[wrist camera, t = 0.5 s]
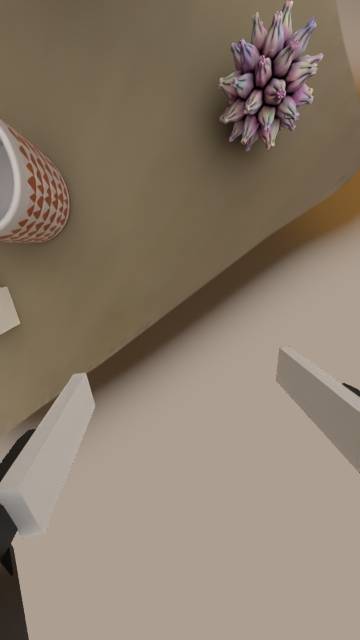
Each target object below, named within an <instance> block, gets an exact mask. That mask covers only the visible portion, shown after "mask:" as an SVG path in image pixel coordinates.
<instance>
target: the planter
mask: <svg viewBox="0 0 360 640" xmlns="http://www.w3.org/2000/svg"><path fill="white" fill-rule="evenodd" d="M69 211H70V199H69V193H68V190H67V186H66V184H65V181H64V179H63V177H62V175H61V174H60V172H59V170H58V169H57V168H56V166H55V165H54V164H53V163H52V161H51V160H50V159H49V158H48V157H47V156H45V155H44V154H43V153H42V152H41V151H40V150H39V149H37V148H36V147H35V146H34V145H33V144H31V143H30V142H29V141H28V140H27V139H25V138H24V137H23V136H22V135H21V134H19V133H18V132H17V131H16V130H15V129H14V128H12V127H11V126H10V125H9V124H8V123H6V122H5V121H4V120H3V119H2V118H0V242H13V243H41V242H45V241H48V240H50V239H52V238H54V237H55V236H57V235H58V234H59V233H60V232H61V231H62V229H63V228H64V226H65V225H66V222H67V220H68V217H69Z"/></svg>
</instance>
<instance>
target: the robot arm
mask: <svg viewBox="0 0 360 640" xmlns="http://www.w3.org/2000/svg"><path fill="white" fill-rule="evenodd" d="M276 381H277V382H278V383H279V384H280V385H281V387H282V388H283V389H284V390H285V391H286V392H287V393H288V394H289V395H290V397H291V398H292V399H293V400H294V401H295V402H296V403H297V404H298V405H299V407H300V408H301V409H302V410H303V411H304V412H305V413H306V414H307V415H308V417H309V418H310V419H311V420H312V421H313V422H314V423H315V424H316V425H317V427H318V428H319V429H320V430H321V431H322V432H323V433H324V434H325V435H326V436H327V438H328V439H329V440H330V441H331V442H332V443H333V444H334V445H335V446H336V448H337V449H338V450H339V451H340V452H341V453H342V454H343V455H344V456H345V458H346V459H347V460H348V461H349V462H350V463H351V464H352V465H353V466H354V468H355V469H356V470H357V471H358V472H359V473H360V391H359V390H358V389H356V388H354V387H352V386H350V385H347V384H345V383H343V384H341V383H339V382H338V381H337V380H335V379H334V378H332V377H331V376H330V375H328V374H327V373H326V372H324V371H323V370H322V369H320V368H319V367H317V366H316V365H315V364H313V363H312V362H311V361H309V360H308V359H306V358H305V357H304V356H302V355H301V354H300V353H298V352H297V351H296V350H294V349H293V348H291V347H290V346H288V347H281V348H279V355H278V365H277V375H276ZM94 408H95V403H94V400H93V397H92V393H91V389H90V386H89V383H88V379H87V376H86V373H79V374H73V376H72V377H71V379H70V380H69V382H68V383H67V385H66V386H65V388H64V389H63V390H62V392H61V393H60V395H59V396H58V398H57V399H56V401H55V402H54V404H53V406H52V407H51V408H50V410H49V411H48V413H47V414H46V416H45V417H44V419H43V420H42V422H41V423H40V424H39V426H38V427H37V429H32V430H28V431H27V432H26V433H25V434H24V435H23V436H21V437H20V438H19V439H18V440H17V441H16V443H15V444H14V445H13V447H12V448H11V449H10V451H9V453H8V454H7V455H6V456H5V458H4V459H3V460H2V463H0V640H29V638H28V633H27V626H26V621H25V614H24V608H23V602H22V597H21V591H20V584H19V578H18V572H17V566H16V561H15V554H14V549H13V546H12V545H11V542H12V540H13V538H14V536H15V534H16V532H17V530H18V532H19V533H20V535H21V536H22V538H23V539H25V538H30V537H36V536H41V535H44V534H45V531H46V529H47V526H48V524H49V521H50V519H51V516H52V514H53V511H54V509H55V506H56V504H57V501H58V499H59V496H60V494H61V491H62V489H63V486H64V484H65V481H66V479H67V476H68V473H69V471H70V469H71V466H72V464H73V461H74V459H75V456H76V454H77V451H78V449H79V446H80V444H81V441H82V438H83V436H84V434H85V431H86V428H87V426H88V423H89V421H90V418H91V416H92V413H93V411H94Z"/></svg>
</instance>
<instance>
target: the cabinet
mask: <svg viewBox="0 0 360 640" xmlns="http://www.w3.org/2000/svg"><path fill="white" fill-rule="evenodd" d="M19 324H20V321H19V318H18V315H17V313H16V310H15V307H14V304H13V301H12V299H11V296H10V293H9V290H8V287H7V286H6V287H0V334H2V333H4V332H6V331H8V330H10V329H11V328H13V327H15V326H17V325H19Z"/></svg>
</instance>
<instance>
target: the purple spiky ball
mask: <svg viewBox="0 0 360 640" xmlns="http://www.w3.org/2000/svg"><path fill="white" fill-rule="evenodd" d="M292 4H293V1H290V2H289V1H285V4H284V7H283V10H282V12H281V11H280V12H278V11H277V13H276V14H274V17H273V22H272V25H271V27H270V29H269V30H268V31H267V30H266V29H265V28H264V26H263V21H261V20H260V19H259V14H258V12H256V13H255V16H253V31H252V37H251V44H248V43H246V42H245V40H244V39H243V38H242V40H240V42H239V43H238V45H237V44H236V43H235V42H233V43H231V48H230V49H231V51H232V53H233V55H234V61H235V66H236V69H237V71H234V72H232V73H231V74H230V75H229V76H227V77H226V78H220V81H219V86H218V87H219V89H220V90H223V91H224V93H225V94H226V96H227V97H228V98H229V99H230V100H229V102H228V103H229V105H228V106H227V108H226V110H225V112H224V113H223V114H222V115H221V116H220V117H219V119H220V121H221V122H223V123H225V124H227V123H228V122H235V124H234V127H233V131H232V134H231V136H230V138H229V142H232V141H233V140H234V139H235V138H236V137H238V136H240V135H241V134H242V140H241V143H242V145H243V144H244V145H245V144H246V147H245V150H246V152H247V151H249V150H250V147H251V145H252V144H253V143H254V142H255V141H257V140H258V137H260V138H261V139H262V140H263V141H264V142H265V144H266V147H267V150H268V149H271V147H274V140H275V137H276V135H277V132H278V130H282V129H283V128H288V129H289V130H290V131H292V130H293V129H295V128H296V126H295V124H294V122H293V120H294V121H298V120H299V115H300V114H299V113H298V112H297V111H296V107H299V106H300V105H303V104H311V102H312V101H313V98H314V97H313V96H312V95H311V94H312V90H313V89H312V88H308V87H307V86H306V84H305V82H306V81H307V80H308V78H309V77H311V76H312V75H314V74H316V70H317V63H318V62H320V61H321V60H322V57H323V54H322V53H321V54H319V55H316V56H308V55H306V56H304V57H301V56H302V55H303V53H304V51H305V49H306V46H307V43H308V40H309V38H310V35H311V33H312V32H313V30H314V29H315V27H316V24H315V23H316V22H314V21H315V18H316V17H313V18H312V19H311V20H310V21H309V22H308V24H307V25H306V26H305V27H303V28H301V29H300V30H298V31H297V32H295V33H294V34H293V35H292V36H291V33H292V28H291V9H292Z"/></svg>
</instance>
